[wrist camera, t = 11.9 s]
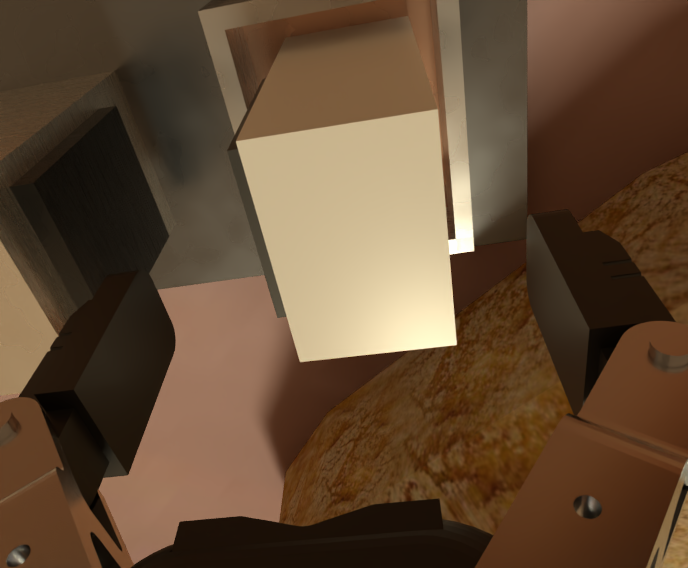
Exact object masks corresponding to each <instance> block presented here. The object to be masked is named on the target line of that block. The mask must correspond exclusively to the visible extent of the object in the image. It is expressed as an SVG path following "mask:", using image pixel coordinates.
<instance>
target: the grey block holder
mask: <svg viewBox="0 0 688 568" xmlns="http://www.w3.org/2000/svg"><path fill="white" fill-rule="evenodd" d="M404 16H408V17H409V20H410V23H411V26H412V29H413V33H414V36H415V39H416V42H417V45H418V48H419V51H420V55H421V58H422V61H423V64H424V67H425V70H426V73H427V77H428V80H429V83H430V86H431V89H432V92H433V96H434V99H435V102H436V105H437V108H438V117H439V130H440V142H441V155H442V167H443V180H444V192H445V204H446V217H447V229H448V242H449V254H456V253H463V252H471V251H474V246H480V245H487V244H494V243H502V242H509V241H516V240H524V239H527V0H0V396H1V395H9V394H18V393H21V392H22V391H23V389H24V387H25V386H26V384H27V383H28V381H29V380H30V378H31V376H32V375H33V373H34V372H35V370H36V369H37V367H38V366H39V364H40V362H41V361H42V359H43V358H44V356H45V355H46V353H47V352H48V351H50V347H51V345H52V344H53V342H54V340H55V339H56V337H59V333H60V331H61V329H62V328H63V326H64V325H65V323H66V322H67V320H68V318H69V317H70V316H71V315H72V314H73V313H74V312H75V311H77V310H78V309H79V308H80V307H81V306H82V305H83V304H85V303H86V302H87V301H88V300H92V299H93V297H94V295H95V294H96V292H97V290H98V289H99V287H100V285H101V284H102V282H103V281H104V279H105V278H106V276H108V275H109V274H115V273H122V272H129V271H136V270H145V271H147V272H148V273H149V275H150V276H151V278H152V280H153V282H154V284H155V287H156V289H157V290H158V289H165V288H172V287H179V286H187V285H194V284H201V283H209V282H216V281H223V280H231V279H238V278H245V277H253V276H260V275H264V272H263V268H262V265H261V262H260V258H259V255H258V252H257V248H256V245H255V242H254V239H253V235H252V232H251V229H250V225H249V222H248V219H247V215H246V212H245V209H244V206H243V202H242V199H241V196H240V192H239V189H238V186H237V182H236V179H235V176H234V173H233V169H232V166H231V163H230V159H229V156H228V153H227V150H228V148H229V146H230V144H231V141H232V139H233V137H234V135H235V133H236V131H237V129H238V127H239V125H240V123H241V121H242V119H243V117H244V115H245V113H246V111H247V109H248V107H249V105H250V103H251V101H252V99H253V97H254V95H255V93H256V91H257V89H258V87H259V85H260V83H261V81H262V79H264V78H266V77H267V75H268V73H269V71H270V69H271V67H272V65H273V63H274V61H275V59H276V56H277V54H278V52H279V50H280V48H281V46H282V44H283V42H284V40H285V38H287V37H292V36H298V35H303V34H309V33H314V32H320V31H326V30H331V29H337V28H342V27H348V26H354V25H359V24H365V23H370V22H376V21H381V20H387V19H393V18H398V17H404Z"/></svg>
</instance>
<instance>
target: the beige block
mask: <svg viewBox="0 0 688 568" xmlns="http://www.w3.org/2000/svg"><path fill="white" fill-rule="evenodd" d="M227 153H228V156H229V159H230V163H231V166H232V169H233V173H234V176H235V179H236V182H237V186H238V189H239V192H240V196H241V199H242V202H243V206H244V209H245V212H246V215H247V219H248V222H249V225H250V229H251V232H252V235H253V239H254V242H255V245H256V248H257V252H258V255H259V258H260V262H261V265H262V268H263V272H264V275H265V278H266V281H267V285H268V288H269V291H270V295H271V298H272V301H273V305H274V308H275V311H276V314H277V318H280V317H287V319H288V323H289V326H290V330H291V333H292V337H293V340H294V343H295V347H296V350H297V354H298V357H299V361H300V362H306V361H316V360H325V359H334V358H343V357H352V356H361V355H370V354H379V353H389V352H398V351H407V350H416V349H425V348H434V347H443V346H452V345H457V341H456V329H455V316H454V304H453V291H452V279H451V267H450V254H449V242H448V229H447V217H446V204H445V192H444V180H443V167H442V155H441V142H440V130H439V117H438V108H437V105H436V102H435V99H434V96H433V92H432V89H431V86H430V83H429V80H428V77H427V73H426V70H425V67H424V64H423V61H422V58H421V55H420V51H419V48H418V45H417V42H416V39H415V36H414V33H413V29H412V26H411V23H410V20H409V17H408V16H404V17H398V18H393V19H387V20H381V21H376V22H370V23H365V24H359V25H354V26H348V27H342V28H337V29H331V30H326V31H320V32H314V33H309V34H303V35H298V36H292V37H287V38H285V40H284V42H283V44H282V46H281V48H280V50H279V52H278V54H277V56H276V59H275V61H274V63H273V65H272V67H271V69H270V71H269V73H268V75H267V77H266V78H264V79H262V81H261V83H260V85H259V87H258V89H257V91H256V93H255V95H254V97H253V99H252V101H251V103H250V105H249V107H248V109H247V111H246V113H245V115H244V117H243V119H242V121H241V123H240V125H239V127H238V129H237V131H236V133H235V135H234V137H233V139H232V141H231V144H230V146H229V148H228V150H227Z"/></svg>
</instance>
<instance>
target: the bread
mask: <svg viewBox="0 0 688 568" xmlns="http://www.w3.org/2000/svg"><path fill="white" fill-rule="evenodd" d="M578 225H579V227H580V228H581V230H582V231H583V232H588V231H595V230H600V231H602V232H603V233H605V234H607V235H608V236H610V237H612V238H613V239H615V240H617V241H618V242H620V243H621V245H622V246H623V247H624V249H625V250H626V252H627V253H628V254H629V256H630V257H631V259H632V262H634V263H635V264H636V266H637V267H638V269H639V270H640V271H641V276H644V277H645V279H646V280H647V281H648V283H649V284H650V286H651V287H652V288H653V290H654V291H655V293H656V294H657V296H658V297H659V298H660V300H661V301H662V303H663V304H664V305H665V307H666V308H667V310H668V311H669V313H670V314H671V315H672V317H673V318H674V320H675V321H676V322H677V323H682V324H685V325H688V152H687V153H685V154H683V155H680V156H678V157H676V158H674V159H672V160H670V161H668V162H666V163H664V164H662V165H660V166H658V167H655V168H653V169H651V170H649V171H647V172H645V173H643V174H642V175H641V176H639V177H638V178H637V179H635V180H634V181H633V182H631V183H630V184H629V185H627V186H626V187H625V188H623V189H622V190H621V191H619V192H618V193H617V194H616V195H614V196H613V197H612V198H610V199H609V200H608V201H606V202H605V203H604V204H602V205H601V206H600V207H598V208H597V209H596V210H594V211H593V212H592V213H590V214H589V215H588V216H586V217H585V218H584V219H583V220H581V221H580V222H579V223H578ZM455 329H456V341H457V345H452V346H443V347H434V348H425V349H416V350H410V351H408V352H407V353H406V354H404V355H403V356H402V357H400V358H399V359H398V360H396V361H395V362H394V363H392V364H391V365H390V366H388V367H387V368H386V369H384V370H383V371H382V372H381V373H379V374H378V375H377V376H375V377H374V378H373V379H371V380H370V381H369V382H367V383H366V384H365V385H363V386H362V387H361V388H359V389H358V390H357V391H355V392H354V393H353V394H351V395H350V396H349V397H348V398H346V399H345V400H344V401H342V402H341V403H340V404H338V405H337V406H336V407H334V408H333V409H332V410H330V411H329V412H328V413H327V414H326V415H325V417H324V418H323V420H322V421H321V423H320V424H319V425H318V427H317V428H316V430H315V431H314V433H313V434H312V435H311V437H310V438H309V440H308V441H307V443H306V444H305V445H304V447H303V448H302V450H301V451H300V452H299V454H298V455H297V457H296V458H295V460H294V461H293V462H292V464H291V465H290V467H289V468H288V470H287V471H286V475H285V482H284V490H283V498H282V505H281V513H280V521H279V523H284V524H289V525H295V526H309V525H313V524H316V523H319V522H322V521H325V520H328V519H331V518H334V517H337V516H340V515H343V514H346V513H349V512H352V511H355V510H358V509H361V508H364V507H367V506H370V505H373V504H382V503H394V502H405V501H416V500H427V499H438V498H440V506H441V513H442V519H445V520H450V521H456V522H460V523H463V524H466V525H470V526H473V527H476V528H478V529H481V530H483V531H485V532H488V533H490V534H492V535H494V534H495V532H496V530H497V529H498V527H499V525H500V523H501V522H502V520H503V518H504V516H505V515H506V513H507V511H508V510H509V508H510V506H511V504H512V503H513V501H514V499H515V497H516V496H517V494H518V492H519V491H520V489H521V487H522V485H523V484H524V482H525V480H526V478H527V477H528V475H529V473H530V472H531V470H532V468H533V466H534V465H535V463H536V461H537V459H538V458H539V456H540V454H541V453H542V451H543V449H544V447H545V446H546V444H547V442H548V440H549V439H550V437H551V435H552V434H553V432H554V430H555V428H556V427H557V425H558V423H559V422H560V420H561V419H562V418H563V417H564V416H565V415H566V414H568V413H570V414H573V411H572V409H571V406H570V404H569V401H568V399H567V396H566V394H565V391H564V389H563V386H562V384H561V381H560V379H559V376H558V374H557V371H556V369H555V366H554V364H553V361H552V359H551V356H550V354H549V351H548V349H547V346H546V344H545V341H544V339H543V336H542V334H541V331H540V329H539V326H538V323H537V321H536V318H535V316H534V313H533V311H532V308H531V305H530V301H529V297H528V291H527V281H526V263H524V264H523V265H522V266H520V267H519V268H518V269H517V270H515V271H514V272H513V273H511V274H510V275H509V276H507V277H506V278H505V279H503V280H502V281H501V282H499V283H498V284H497V285H495V286H494V287H493V288H491V289H490V290H489V291H487V292H486V293H485V294H484V295H482V296H481V297H480V298H478V299H477V300H476V301H474V302H473V303H472V304H470V305H469V306H468V307H466V308H465V309H464V310H462V311H461V312H460V313H458V314H457V315H456V316H455ZM573 415H574V414H573ZM662 568H688V496H687V498H686V501H685V504H684V507H683V510H682V513H681V515H680V518H679V521H678V524H677V527H676V529H675V532H674V535H673V538H672V541H671V544H670V546H669V549H668V552H667V555H666V558H665V561H664V563H663V566H662Z"/></svg>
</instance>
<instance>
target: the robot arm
mask: <svg viewBox="0 0 688 568" xmlns="http://www.w3.org/2000/svg"><path fill="white" fill-rule="evenodd" d="M526 281H527V291H528V297H529V301H530V305H531V308H532V311H533V313H534V316H535V318H536V321H537V323H538V326H539V329H540V331H541V334H542V336H543V339H544V341H545V344H546V346H547V349H548V351H549V354H550V356H551V359H552V361H553V364H554V366H555V369H556V371H557V374H558V376H559V379H560V381H561V384H562V386H563V389H564V391H565V394H566V396H567V399H568V401H569V404H570V406H571V409H572V411H573V414H574V415H573V414H570V413H568V414H566V415H565V416H564V417H563V418H562V419H561V420H560V422H559V423H558V425H557V427H556V428H555V430H554V432H553V434H552V435H551V437H550V439H549V440H548V442H547V444H546V446H545V447H544V449H543V451H542V453H541V454H540V456H539V458H538V459H537V461H536V463H535V465H534V466H533V468H532V470H531V472H530V473H529V475H528V477H527V478H526V480H525V482H524V484H523V485H522V487H521V489H520V491H519V492H518V494H517V496H516V497H515V499H514V501H513V503H512V504H511V506H510V508H509V510H508V511H507V513H506V515H505V516H504V518H503V520H502V522H501V523H500V525H499V527H498V529H497V530H496V532H495V534H494V535H492V534H490V533H488V532H485V531H483V530H481V529H478V528H476V527H473V526H470V525H466V524H463V523H460V522H456V521H450V520H445V519H442V513H441V506H440V498H438V499H427V500H416V501H405V502H394V503H382V504H373V505H370V506H367V507H364V508H361V509H358V510H355V511H352V512H349V513H346V514H343V515H340V516H337V517H334V518H331V519H328V520H325V521H322V522H319V523H316V524H313V525H309V526H295V525H289V524H284V523H278V522H272V521H266V520H260V519H254V518H248V517H243V516H238V517H227V518H216V519H205V520H194V521H183V522H179V526H178V530H177V534H176V537H175V541H174V544H173V545H170V546H167V547H165V548H163V549H161V550H159V551H157V552H154V553H153V554H151V555H149V556H147V557H146V558H144V559H142V560H141V561H139V562H138V563H136V564H135V565H134V564H133V562H132V560H131V557H130V555H129V553H128V550H127V548H126V546H125V544H124V541H123V539H122V537H121V535H120V532H119V530H118V528H117V526H116V523H115V521H114V519H113V516H112V514H111V512H110V510H109V507H108V505H107V503H106V501H105V498H104V497H103V495H102V494H101V492H100V491H99V486H100V484H101V481H102V479H103V478H105V477H115V476H125V475H128V474H129V471H130V469H131V466H132V463H133V461H134V458H135V455H136V453H137V450H138V447H139V445H140V442H141V439H142V437H143V434H144V431H145V429H146V426H147V423H148V421H149V418H150V415H151V413H152V410H153V407H154V405H155V402H156V399H157V397H158V394H159V391H160V389H161V386H162V383H163V381H164V378H165V375H166V373H167V370H168V367H169V365H170V362H171V359H172V357H173V354H174V351H175V332H174V327H173V324H172V322H171V320H170V318H169V315H168V313H167V311H166V309H165V306H164V304H163V302H162V300H161V298H160V295H159V293H158V291H157V289H156V287H155V284H154V282H153V280H152V278H151V276H150V275H149V273H148V272H147V271H145V270H136V271H129V272H122V273H115V274H109V275H108V276H106V278H105V279H104V281H103V282H102V284H101V285H100V287H99V289H98V290H97V292H96V294H95V295H94V297H93V299H92V300H88V301H87V302H86V303H85V304H83V305H82V306H81V307H80V308H79V309H78V310H77V311H75V312H74V313H73V314H72V315H71V316H70V317H69V318H68V320H67V322H66V323H65V325H64V326H63V328H62V329H61V331H60V333H59V337H56V339H55V340H54V342H53V344H52V345H51V347H50V351H48V352H47V353H46V355H45V356H44V358H43V359H42V361H41V362H40V364H39V366H38V367H37V369H36V370H35V372H34V373H33V375H32V376H31V378H30V380H29V381H28V383H27V384H26V386H25V387H24V389H23V391H22V392H21V394H20V395H19V397H18V398H13V399H9V400H5V401H3V402H0V568H662V566H663V563H664V561H665V558H666V555H667V552H668V549H669V546H670V544H671V541H672V538H673V535H674V532H675V529H676V527H677V524H678V521H679V518H680V515H681V513H682V510H683V507H684V504H685V501H686V498H687V496H688V325H685V324H682V323H677V322H676V321H675V320H674V318H673V317H672V315H671V314H670V313H669V311H668V310H667V308H666V307H665V305H664V304H663V303H662V301H661V300H660V298H659V297H658V296H657V294H656V293H655V291H654V290H653V288H652V287H651V286H650V284H649V283H648V281H647V280H646V279H645V277H644V276H641V271H640V270H639V269H638V267H637V266H636V264H635V263H634V262H632V259H631V257H630V256H629V254H628V253H627V252H626V250H625V249H624V247H623V246H622V245H621V243H620V242H618V241H617V240H615V239H613V238H612V237H610V236H608V235H607V234H605V233H603V232H602V231H600V230H595V231H588V232H583V231H582V230H581V228H580V227H579V225H578V223H577V222H576V220H575V219H574V217H573V215H572V214H571V212H570V211H569V210H567V209H566V210H559V211H552V212H545V213H538V214H531V215H529V216H528V218H527V252H526Z"/></svg>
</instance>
